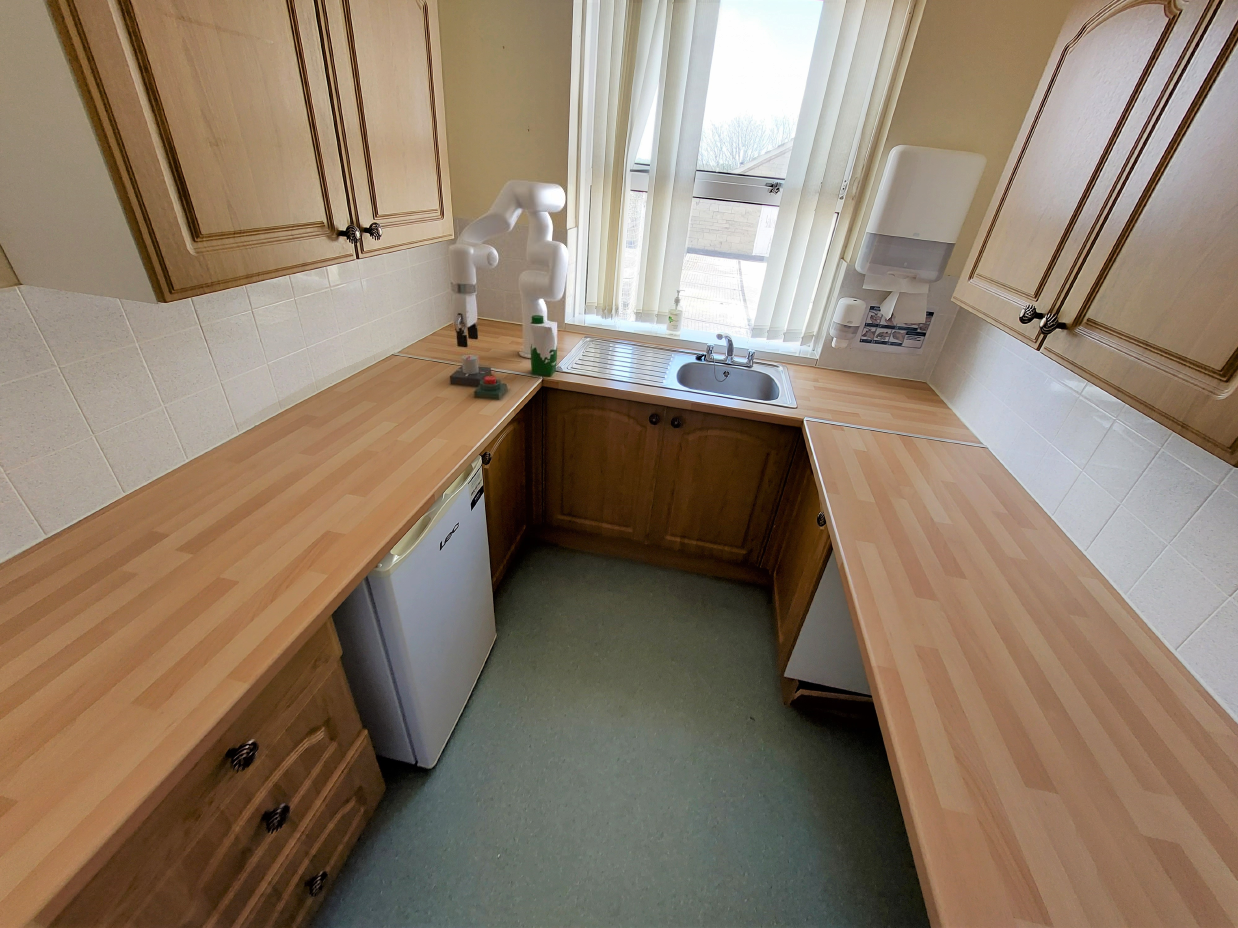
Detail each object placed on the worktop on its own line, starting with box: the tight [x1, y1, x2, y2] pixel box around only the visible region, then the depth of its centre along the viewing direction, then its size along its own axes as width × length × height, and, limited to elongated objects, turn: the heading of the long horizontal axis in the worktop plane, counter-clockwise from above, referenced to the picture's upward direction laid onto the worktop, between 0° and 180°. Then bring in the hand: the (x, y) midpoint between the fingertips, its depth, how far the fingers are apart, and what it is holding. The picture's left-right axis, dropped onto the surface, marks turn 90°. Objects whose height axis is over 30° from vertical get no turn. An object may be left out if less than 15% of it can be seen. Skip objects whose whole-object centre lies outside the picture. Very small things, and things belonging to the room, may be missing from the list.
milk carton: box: [529, 315, 558, 378], centre depth 171 cm, size 9×9×20 cm
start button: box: [484, 375, 497, 384], centre depth 154 cm, size 4×4×2 cm
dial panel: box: [449, 365, 492, 388], centre depth 164 cm, size 12×10×3 cm
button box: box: [473, 378, 508, 401], centre depth 155 cm, size 9×8×4 cm
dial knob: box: [461, 354, 480, 374], centre depth 162 cm, size 5×5×5 cm
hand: (468, 342), depth 158 cm, fingers open, 9 cm apart
